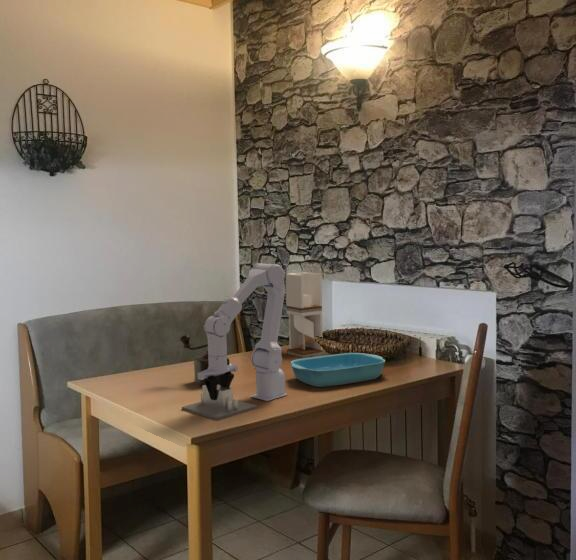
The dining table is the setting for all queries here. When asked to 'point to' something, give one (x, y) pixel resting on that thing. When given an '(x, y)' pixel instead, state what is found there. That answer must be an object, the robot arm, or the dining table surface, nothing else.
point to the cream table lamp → (304, 313)
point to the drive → (218, 397)
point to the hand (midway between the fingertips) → (218, 398)
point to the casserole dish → (338, 369)
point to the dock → (217, 413)
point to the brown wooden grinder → (198, 360)
